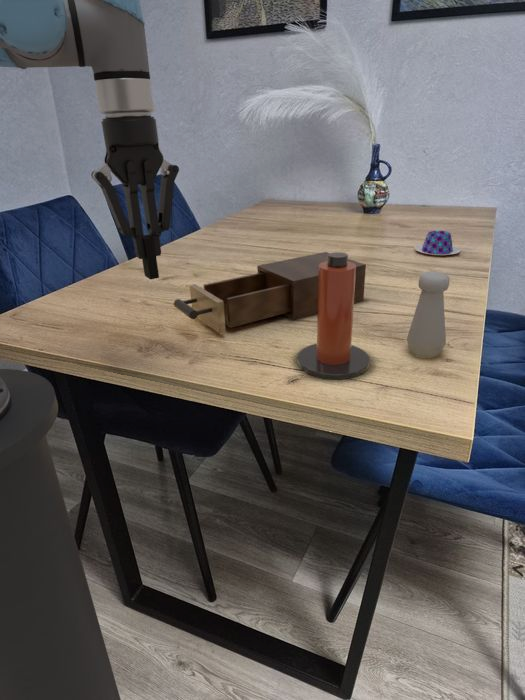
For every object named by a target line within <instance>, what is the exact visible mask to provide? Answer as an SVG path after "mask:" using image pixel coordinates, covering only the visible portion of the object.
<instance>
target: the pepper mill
mask: <svg viewBox="0 0 525 700" xmlns="http://www.w3.org/2000/svg"><path fill="white" fill-rule="evenodd" d="M328 253H329V254H328V257H327V261H326V262H322V263H320V264H319V272H318V312H317V314H316V315H317V317H316V318H317V319H316V344H317V352H316V357H317V359H318V360H319V361H320V362H322V363H325V364H329V365H341V364H345V363H347V362H348V361H349V360H350V358H351V345H352V339H353V325H354V324H353V323H354V308H355V303H354V292H355V276H356V265H355V264H354V263H352V262H348V259H349V255H348V254H347V253H345V252H341V251H339V252H328Z"/></svg>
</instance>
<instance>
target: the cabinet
mask: <svg viewBox="0 0 525 700" xmlns="http://www.w3.org/2000/svg"><path fill="white" fill-rule="evenodd" d="M329 253H330V252H327V251H324V252H319V253H318V252H317V253H313V254H309V255H303V256H298V257H294V258H289V259H284V260H279V261H274V262H269V263H264V264H258V265H257V267H256V268H257V273H261V272H264V273H267V274H269V275H271V276H274V277H276V278H278V279H280V280H283V281H285V282H287V283H289V284H291V312H288V313H284V314H283V316H286V317H287V318H289V319H290V320H293V321H295V320H299V319H302V318H305V317H310V316H313V315H317V312H318V272H319V264H320V263H322V262H326V261H327V257H328V254H329ZM348 262H352V263H354V264H355V265H356V276H355V292H354V304H356V303H360V302H364V297H365V284H366V283H365V282H366V270H367V264H365V263H363V262H359V261H357V260H353V259H351V258H350V259H349V258H348Z"/></svg>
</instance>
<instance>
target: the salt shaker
mask: <svg viewBox="0 0 525 700" xmlns="http://www.w3.org/2000/svg"><path fill="white" fill-rule="evenodd" d="M449 286H450V276H449V275H448V274H446V273H445V272H441V271H436V270H435V271H434V270H430V271H425V272H422V273H421V274H420V276H419V279H418V288H419V289H420V290H421V291H420V293H419V297H418V301H417V304H416V308H415V310H414V314H413V317H412V321H411V324H410V328H409V330H408V334H407V337H406V341H407V344H408V348H409V352H410V353H411V354H412V355H414V356H415V357H417V358H421V359H429V360H430V359H433V358H436V357H438V356H439V355H440V354H441V352H442V350H444V348H445V346H446V343H447V334H446V332H447V331H446V319H445V318H446V317H445V316H446V315H445V299H444V298H445V297H444V296H445V295H444V294H445V293H444V292H446V291H448V290H449Z"/></svg>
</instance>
